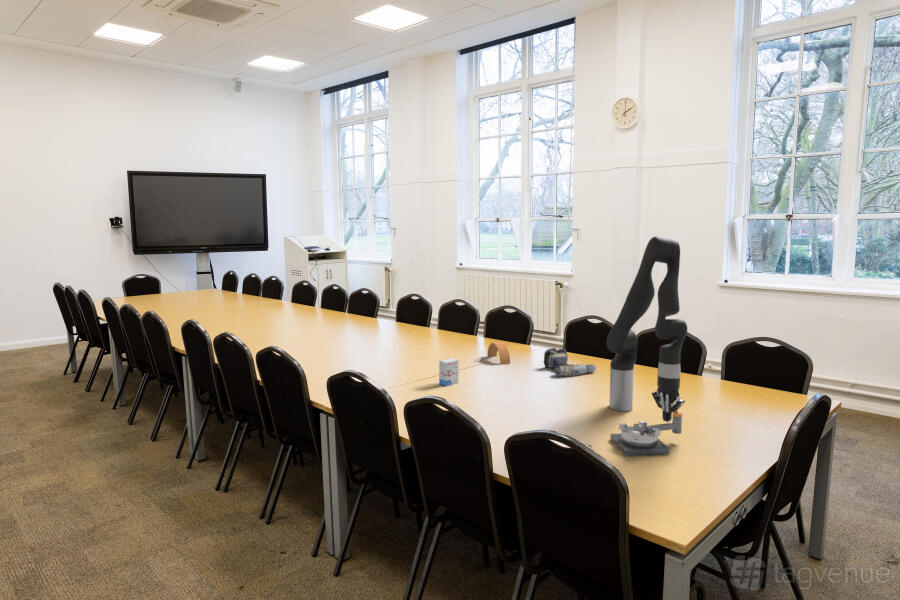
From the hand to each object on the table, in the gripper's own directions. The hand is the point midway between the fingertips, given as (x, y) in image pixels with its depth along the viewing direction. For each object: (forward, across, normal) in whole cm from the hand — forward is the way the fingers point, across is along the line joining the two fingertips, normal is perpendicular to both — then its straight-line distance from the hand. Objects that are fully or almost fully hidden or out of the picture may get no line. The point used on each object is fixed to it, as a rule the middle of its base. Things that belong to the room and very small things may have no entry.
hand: (666, 420), depth 208 cm
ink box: (+7, -102, -31) cm, 107 cm away
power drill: (+8, -88, +30) cm, 93 cm away
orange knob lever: (+4, +2, -10) cm, 11 cm away
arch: (+8, -126, +15) cm, 128 cm away
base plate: (+6, +1, -15) cm, 16 cm away
